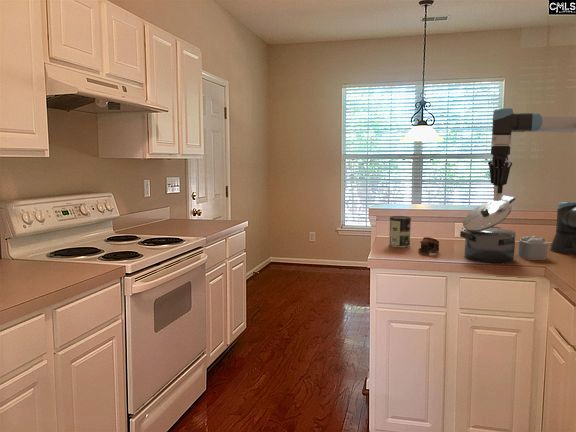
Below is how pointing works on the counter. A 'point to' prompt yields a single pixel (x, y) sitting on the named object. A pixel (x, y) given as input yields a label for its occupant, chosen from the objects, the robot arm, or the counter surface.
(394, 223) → the coffee can
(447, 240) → the counter surface
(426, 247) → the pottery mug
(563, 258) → the counter surface
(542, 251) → the lumpy-topped squat cylinder
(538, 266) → the counter surface
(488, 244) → the pot
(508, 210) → the lid
